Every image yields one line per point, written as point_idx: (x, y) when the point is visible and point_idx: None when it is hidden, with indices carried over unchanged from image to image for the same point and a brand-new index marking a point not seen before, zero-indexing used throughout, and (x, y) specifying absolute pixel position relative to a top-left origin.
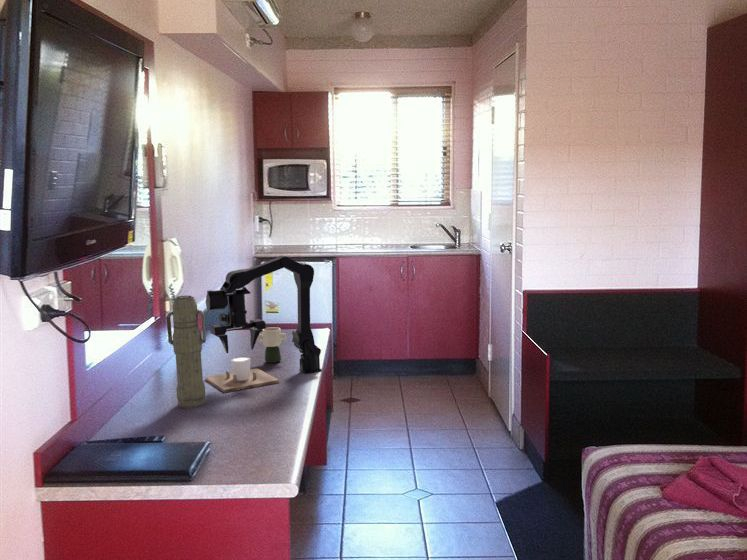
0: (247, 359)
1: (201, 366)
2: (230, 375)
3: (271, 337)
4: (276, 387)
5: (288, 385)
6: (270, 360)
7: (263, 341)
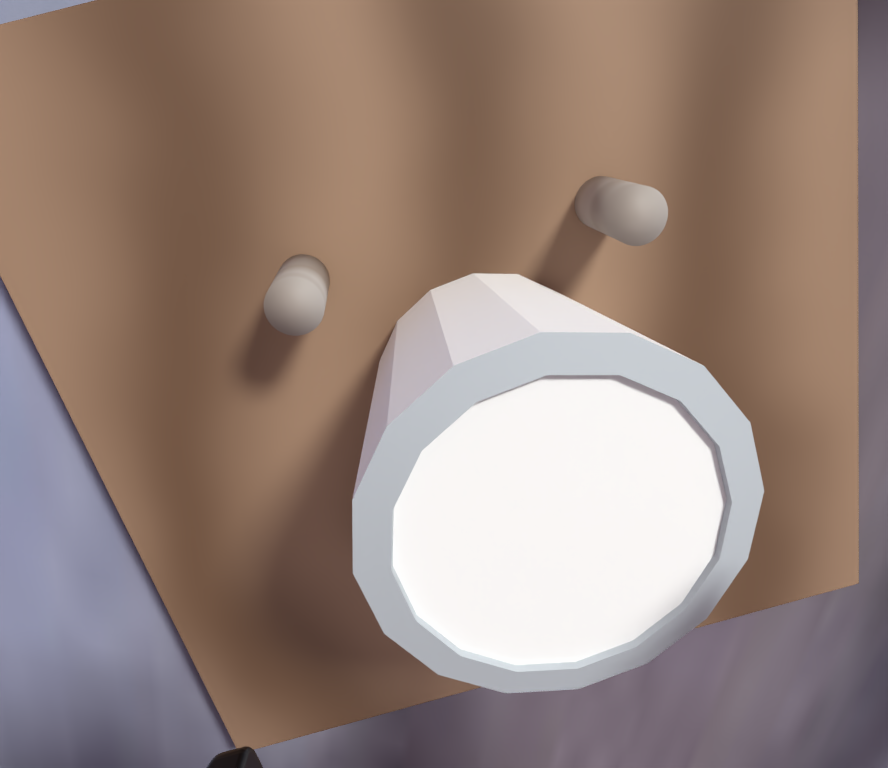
0: (688, 569)
1: None
2: (345, 137)
3: None
4: (756, 695)
5: (873, 667)
6: None
7: None
